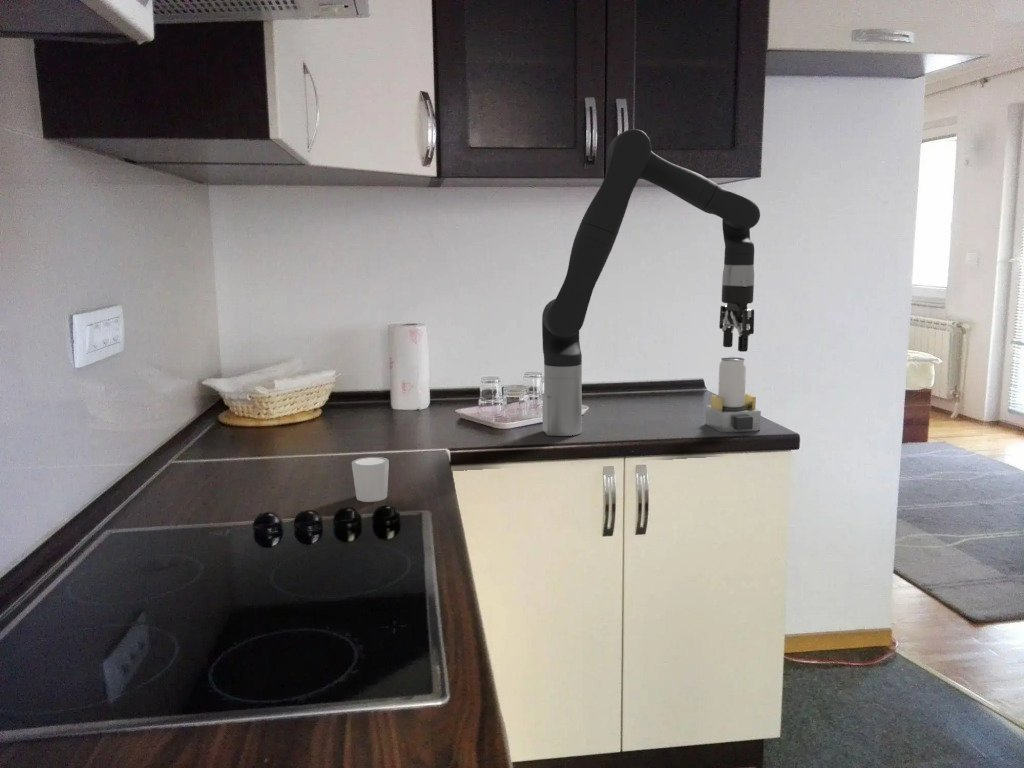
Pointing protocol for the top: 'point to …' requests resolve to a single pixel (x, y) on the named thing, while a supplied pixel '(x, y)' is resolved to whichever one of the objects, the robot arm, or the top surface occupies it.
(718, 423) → the motor housing
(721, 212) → the robot arm
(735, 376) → the can
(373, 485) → the light grey cup
